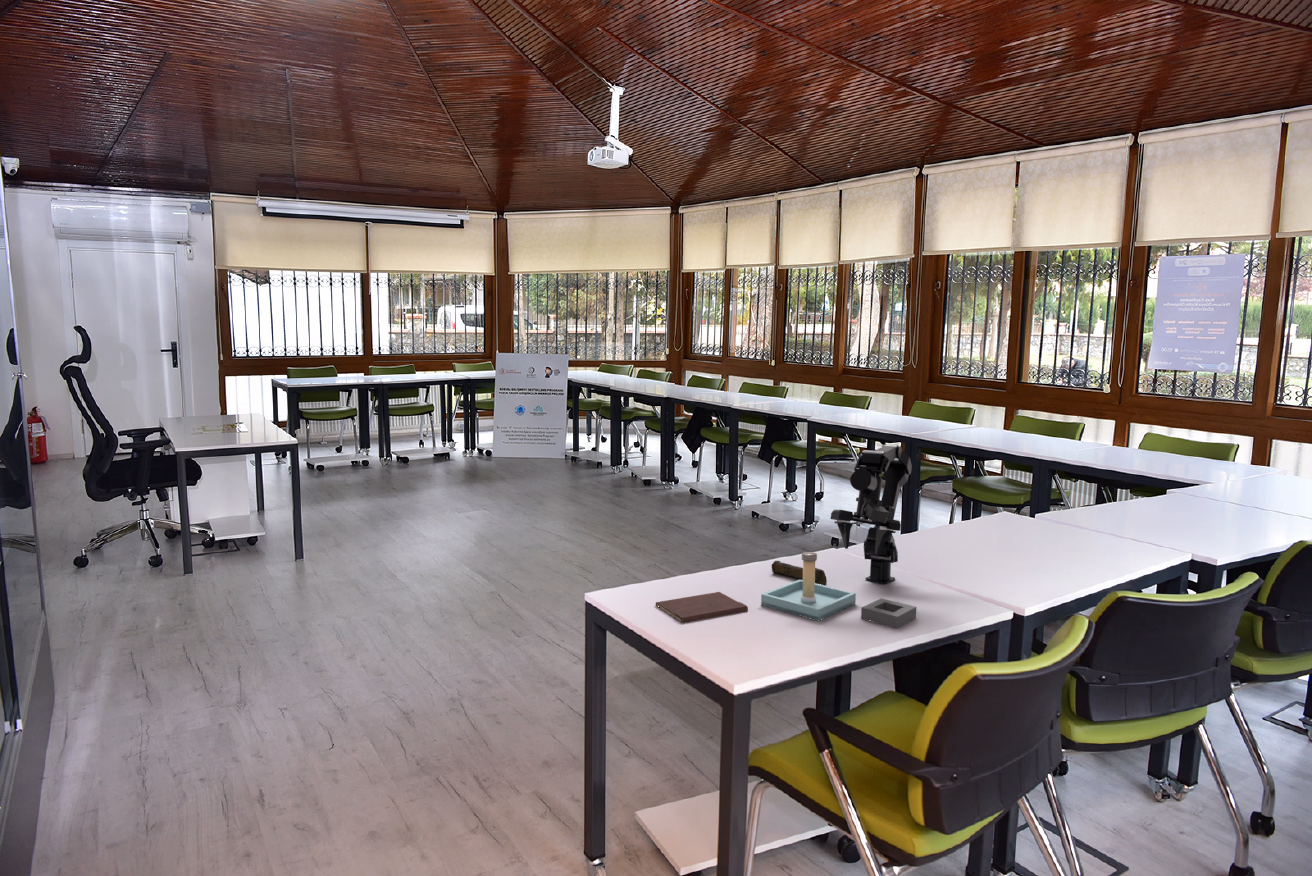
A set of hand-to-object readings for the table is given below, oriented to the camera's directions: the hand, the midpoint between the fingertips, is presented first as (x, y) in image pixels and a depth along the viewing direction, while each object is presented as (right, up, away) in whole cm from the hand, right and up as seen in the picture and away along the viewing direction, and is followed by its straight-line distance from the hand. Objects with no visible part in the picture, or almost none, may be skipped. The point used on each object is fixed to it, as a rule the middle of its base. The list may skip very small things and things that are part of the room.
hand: (861, 551), depth 228 cm
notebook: (-44, -15, -7) cm, 47 cm away
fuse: (-15, -13, -5) cm, 21 cm away
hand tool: (-13, -11, +19) cm, 26 cm away
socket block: (+3, -15, -15) cm, 22 cm away
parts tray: (-15, -14, -4) cm, 21 cm away
